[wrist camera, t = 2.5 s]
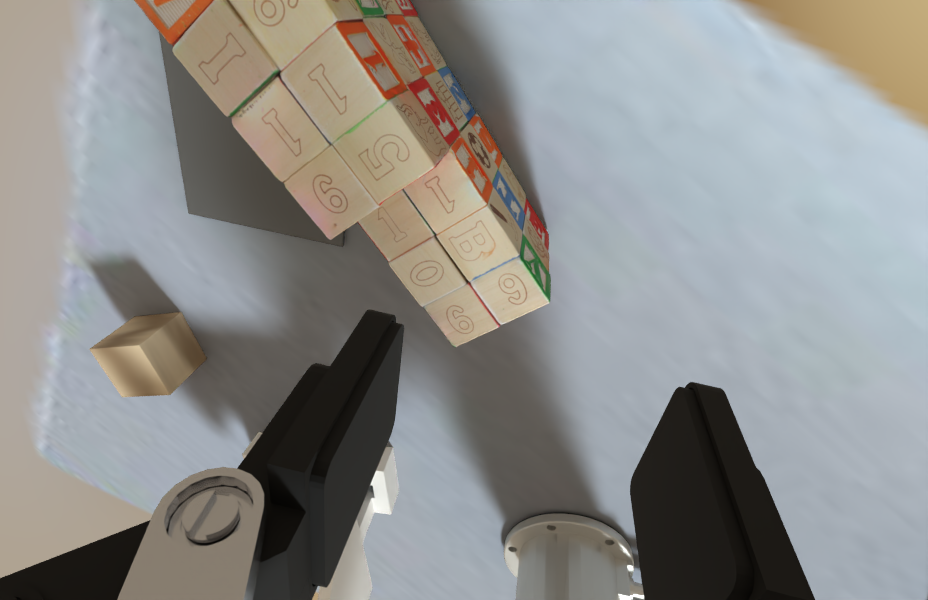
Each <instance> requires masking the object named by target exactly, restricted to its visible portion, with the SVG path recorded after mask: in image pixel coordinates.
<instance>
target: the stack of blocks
mask: <svg viewBox="0 0 928 600" xmlns="http://www.w3.org/2000/svg"><path fill="white" fill-rule="evenodd" d="M134 1H135V2H136V3H137V4H138V6H139V7H140V8H141V9H142V11H143V12H144V13H145V14H146V16H147V17H148V18H149V20H150V21H151V22H152V23H153V24H154V25H155V27H156V28H157V29H158V30H159V32H160V33H161V34H162V35H163V37H164V38H165V39H166V40H167V42H168V43H169V44H171V45H172V46H173V49H172V50H173V53H174V55H175V56H176V57H177V59H178V60H179V61H180V62H181V63H182V64H183V66H184V67H185V68H186V70H187V71H188V72H189V73H190V74H191V76H192V77H193V78H194V79H195V80H196V81H197V83H198V84H199V85H200V86H201V87H202V89H203V90H204V91H205V92H206V94H207V95H208V96H209V97H210V98H211V100H212V101H213V102H214V103H215V104H216V105H217V107H218V108H219V109H220V110H221V111H222V112H223V114H224V115H226V116H227V117H230V118H231V119H232V124H233V127H234V128H235V129H236V130H237V131H238V133H239V134H240V135H241V137H242V138H243V139H244V140H245V141H246V142H247V143H248V145H249V146H250V147H251V148H252V149H253V151H254V152H255V153H256V154H257V156H258V157H259V158H260V159H261V160H262V161H263V163H264V164H265V165H266V166H267V167H268V169H269V170H270V171H271V172H272V173H273V175H274V176H275V177H276V178H277V179H278V180H279V181H281V182H283V183H284V185H285V187H286V189H287V190H288V191H289V193H290V194H291V195H292V196H293V197H294V199H295V200H296V201H297V202H298V203H299V205H300V206H301V207H302V208H303V209H304V210H305V212H306V213H307V214H308V215H309V217H310V218H311V219H312V220H313V221H314V223H315V224H316V225H317V226H318V227H319V228H320V230H321V231H322V232H323V233H324V234H325V236H326V237H327V238H328V239H329V240H331V239H333V238H334V237H336V236H337V235H339V234H340V233H342V232H343V231H345V230H346V229H347V228H349V227H350V226H352V225H353V224H355V223H356V222H358V223H359V225H360V226H361V227H362V228H363V230H364V231H365V232H366V234H367V235H368V236H369V238H370V239H371V240H372V241H373V243H374V244H375V245H376V247H377V248H378V249H379V250H380V252H381V253H382V254H383V256H384V257H385V258H386V259H387V261H388V262H389V266H390V267H391V268H392V270H393V271H394V272H395V274H396V275H397V276H398V277H399V279H400V280H401V281H402V283H403V284H404V285H405V287H406V288H407V289H408V290H409V292H410V293H411V294H412V296H413V297H414V298H415V299H416V301H417V302H418V303H419V305H420V306H421V307H424V308H425V310H426V311H427V313H428V314H429V315H430V317H431V318H432V319H433V321H434V322H435V323H436V324H437V326H438V327H439V328H440V330H441V331H442V333H443V334H444V335H445V336H446V338H447V339H448V340H449V341H450V343H451V344H452V345H453V346H454V347H457V346H459V345H461V344H464V343H466V342H468V341H470V340H472V339H474V338H477V337H479V336H481V335H483V334H486V333H488V332H490V331H492V330H495V329H497V328H498V327H499V326H500V325H502V324H505V323H507V322H510V321H512V320H514V319H516V318H518V317H521V316H523V315H525V314H527V313H529V312H531V311H534V310H536V309H538V308H540V307H542V306H544V305H546V304H548V303H550V290H551V284H550V283H551V278H550V274H549V252H548V249H549V248H548V247H549V234H548V232H547V231H546V229H545V228H544V226H543V224H542V223H541V221H540V220H539V218H538V216H537V215H536V213H535V211H534V210H533V208H532V206H531V205H530V203H529V202H528V200H527V199H526V194H525V192H524V191H523V189H522V187H521V186H520V184H519V182H518V181H517V179H516V177H515V176H514V174H513V172H512V171H511V169H510V167H509V166H508V164H507V162H506V161H505V159H504V158H503V157H502V154H501V152H500V150H499V149H498V147H497V145H496V143H495V142H494V140H493V138H492V137H491V135H490V133H489V132H488V130H487V128H486V127H485V125H484V123H483V122H482V120H481V118H480V116H479V115H478V114H477V113H475V111H474V109H473V107H472V106H471V104H470V102H469V101H468V99H467V97H466V96H465V94H464V92H463V91H462V89H461V87H460V86H459V84H458V82H457V80H456V79H455V77H454V75H453V74H452V72H451V70H450V69H449V68H448V67H447V65H446V63H445V61H444V59H443V58H442V56H441V54H440V53H439V51H438V49H437V48H436V46H435V44H434V43H433V41H432V39H431V38H430V36H429V34H428V33H427V31H426V29H425V28H424V26H423V24H422V23H421V21H420V20H419V18H418V14H417V12H416V10H415V8H414V6H413V5H412V3H411V1H410V0H134Z"/></svg>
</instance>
